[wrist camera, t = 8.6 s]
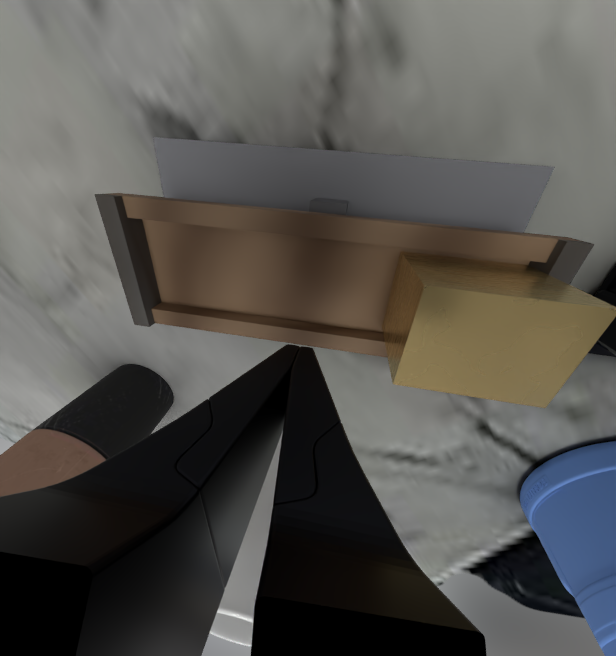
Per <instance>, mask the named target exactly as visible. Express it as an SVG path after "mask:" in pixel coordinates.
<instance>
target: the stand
mask: <svg viewBox="0 0 616 656" xmlns="http://www.w3.org/2000/svg"><path fill="white" fill-rule="evenodd" d="M153 141H154V147H155V152H156V157H157V163H158V168H159V173H160V179H161V184H162V190H163V195H164V198H174V199H185V200H195V201H205V202H215V203H225V204H235V205H246V206H256V207H266V208H276V209H286V210H296V211H307V212H317V213H327V214H337V215H347V216H357V217H368V218H378V219H388V220H398V221H408V222H418V223H428V224H439V225H449V226H459V227H469V228H479V229H489V230H500V231H510V232H520V233H524V231H525V229H526V227H527V225H528V223H529V220H530V218H531V216H532V214H533V212H534V210H535V208H536V206H537V204H538V201H539V199H540V197H541V195H542V193H543V191H544V189H545V187H546V185H547V182H548V180H549V178H550V176H551V174H552V172H553V170H554V168H555V167H550V166H537V165H523V164H510V163H496V162H483V161H469V160H456V159H442V158H429V157H415V156H402V155H388V154H375V153H361V152H348V151H334V150H321V149H308V148H294V147H281V146H267V145H254V144H240V143H227V142H213V141H200V140H186V139H173V138H159V137H153Z"/></svg>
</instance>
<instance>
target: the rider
mask: <svg viewBox="0 0 616 656" xmlns="http://www.w3.org/2000/svg"><path fill="white" fill-rule="evenodd" d="M615 317H616V307H615V306H613V305H611V304H608V303H606V302H604V301H602V300H600V299H598V298H596V297H594V296H592V295H590V294H588V293H585V292H583V291H581V290H579V289H577V288H575V287H573V286H571V285H569V284H567V283H565V282H563V281H560V280H558V279H556V278H554V277H552V276H550V275H548V274H546V273H544V272H542V271H540V270H537V269H535V268H533V267H531V266H529V265H523V264H514V263H505V262H496V261H487V260H478V259H469V258H459V257H450V256H441V255H432V254H423V253H414V252H405V251H401V252H400V256H399V260H398V264H397V268H396V272H395V276H394V280H393V284H392V288H391V292H390V296H389V300H388V304H387V308H386V312H385V316H384V320H383V323H382V331H383V336H384V341H385V346H386V351H387V356H388V361H389V366H390V371H391V377H392V382H393V384H395V385H402V386H408V387H414V388H421V389H427V390H433V391H440V392H446V393H452V394H459V395H465V396H471V397H478V398H484V399H490V400H497V401H503V402H509V403H516V404H522V405H528V406H535V407H541V408H546V407H547V406H548V404H549V403H550V402H551V400H552V399H553V398H554V396H555V395H556V394H557V393H558V391H559V390H560V389H561V387H562V386H563V385H564V383H565V382H566V381H567V379H568V378H569V377H570V376H571V374H572V373H573V372H574V370H575V369H576V368H577V366H578V365H579V364H580V363H581V361H582V360H583V359H584V357H585V356H586V355H587V353H588V352H589V351H590V350H591V348H592V347H593V346H594V344H595V343H596V342H597V340H598V339H599V338H600V336H601V335H602V334H603V333H604V331H605V330H606V329H607V327H608V326H609V325H610V323H611V322H612V321H613V320H614V318H615Z"/></svg>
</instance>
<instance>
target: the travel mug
mask: <svg viewBox="0 0 616 656" xmlns="http://www.w3.org/2000/svg"><path fill="white" fill-rule="evenodd" d="M172 403H173V394H172V391H171V389H170V387H169V386H168V384H167V383H166V382H165V381H164V380H163V379H162V378H161V377H160V376H159V375H158V374H156V373H155V372H153V371H151V370H149V369H147V368H145V367H142V366H139V365H131V364H129V365H123V366H121V367H119V368H117V369H116V370H114V371H113V372H112V373H110V374H109V375H107V376H106V377H105V378H103V379H102V380H100V381H99V382H98V383H96V384H95V385H94V386H92V387H91V388H89V389H88V390H87V391H85V392H84V393H83V394H81V395H80V396H79V397H77V398H76V399H74V400H73V401H72V402H70V403H69V404H68V405H66V406H65V407H64V408H62V409H61V410H59V411H58V412H57V413H55V414H54V415H53V416H51V417H50V418H48V419H47V420H46V421H44V422H43V423H42V424H40V425H39V426H38V427H36V428H35V429H34V430H33V431H31V432H30V433H28V434H27V435H26V436H24V437H23V438H22V439H20V440H19V441H18V442H17V443H15V444H14V445H13V446H11V447H10V448H9V449H8V450H7V451H5V452H4V453H3V454H1V455H0V497H1V496H6V495H11V494H15V493H20V492H25V491H30V490H35V489H39V488H43V487H47V486H50V485H54V484H57V483H60V482H62V481H65V480H68V479H70V478H72V477H75V476H77V475H79V474H81V473H83V472H85V471H87V470H89V469H91V468H93V467H95V466H97V465H98V464H100V463H102V462H104V461H105V460H107V459H109V458H111V457H112V456H114V455H116V454H118V453H119V452H121V451H123V450H125V449H126V448H128V447H130V446H132V445H133V444H135V443H137V442H139V441H140V440H142V439H144V438H146V437H148V436H149V435H150V434H151V432H152V431H153V430H154V429H155V427H156V426H157V425H158V423H159V422H160V421H161V419H162V418H163V417H164V415H165V414H166V413H167V411H168V410H169V409H170V407H171V406H172Z"/></svg>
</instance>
